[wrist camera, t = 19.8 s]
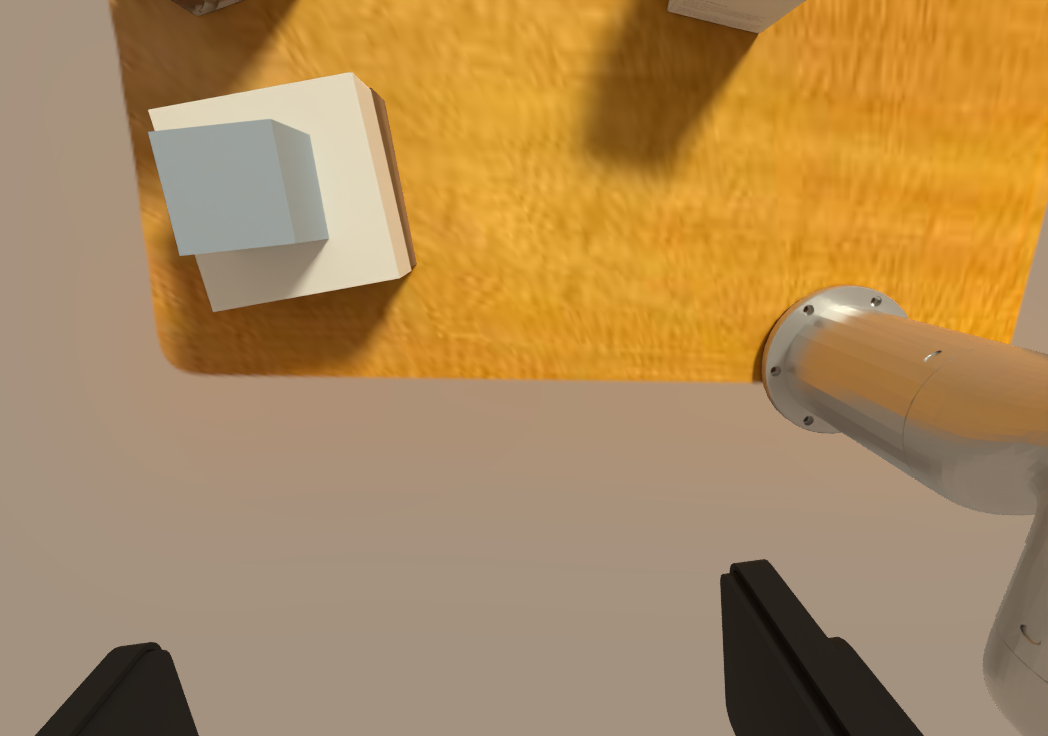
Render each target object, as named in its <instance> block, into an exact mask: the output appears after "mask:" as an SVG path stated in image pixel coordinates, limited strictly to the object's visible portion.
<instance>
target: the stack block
mask: <svg viewBox="0 0 1048 736" xmlns="http://www.w3.org/2000/svg"><path fill="white" fill-rule="evenodd" d="M148 134H149V138H150V142H151V146H152V150H153V154H154V158H155V161H156V165H157V169H158V173H159V177H160V181H161V185H162V189H163V193H164V197H165V200H166V204H167V208H168V212H169V216H170V220H171V224H172V228H173V232H174V235H175V239H176V243H177V247H178V251H179V255H180V256H184V255H193V254H203V253H212V252H221V251H230V250H239V249H249V248H258V247H267V246H276V245H286V244H295V243H302V242H309V241H316V240H323V239H329V234H328V229H327V224H326V219H325V213H324V208H323V203H322V197H321V192H320V187H319V181H318V176H317V171H316V165H315V160H314V155H313V150H312V144H311V139H310V135H309V134H306V133H304V132H302V131H299V130H297V129H294V128H292V127H289V126H287V125H285V124H282V123H280V122H277V121H275V120H272V119H263V120H254V121H245V122H235V123H226V124H216V125H207V126H198V127H188V128H179V129H169V130H160V131H151V132H148Z"/></svg>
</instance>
